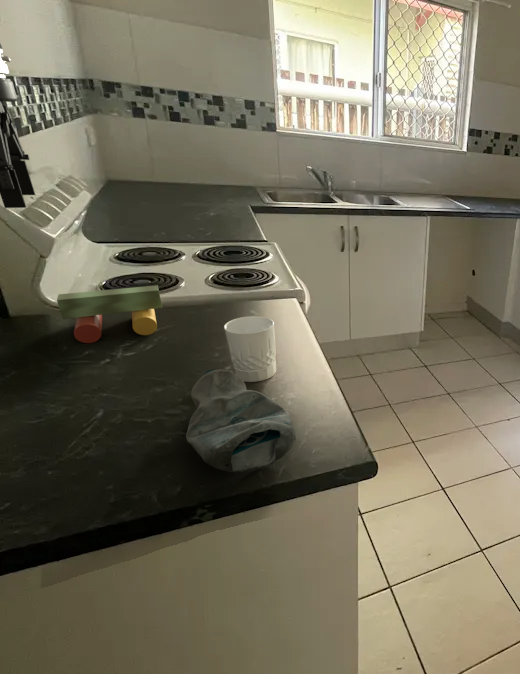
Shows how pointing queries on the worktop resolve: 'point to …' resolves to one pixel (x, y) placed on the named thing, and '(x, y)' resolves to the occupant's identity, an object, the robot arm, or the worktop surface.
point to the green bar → (108, 301)
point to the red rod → (88, 328)
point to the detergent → (237, 424)
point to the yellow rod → (144, 321)
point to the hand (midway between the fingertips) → (21, 201)
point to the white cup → (252, 347)
